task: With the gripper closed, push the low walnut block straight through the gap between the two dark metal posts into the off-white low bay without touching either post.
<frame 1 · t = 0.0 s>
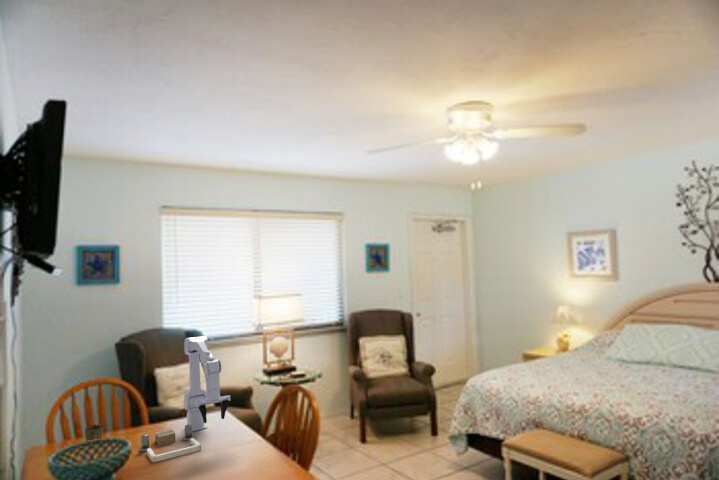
hand: (214, 420, 204), 10 cm above the table, tool pointing down, fingers open, 7 cm apart
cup: (94, 445, 211), on the table
post 1: (145, 449, 202), on the table
walnut block: (165, 442, 211), on the table
post 2: (188, 439, 212), on the table
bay: (173, 450, 199), on the table
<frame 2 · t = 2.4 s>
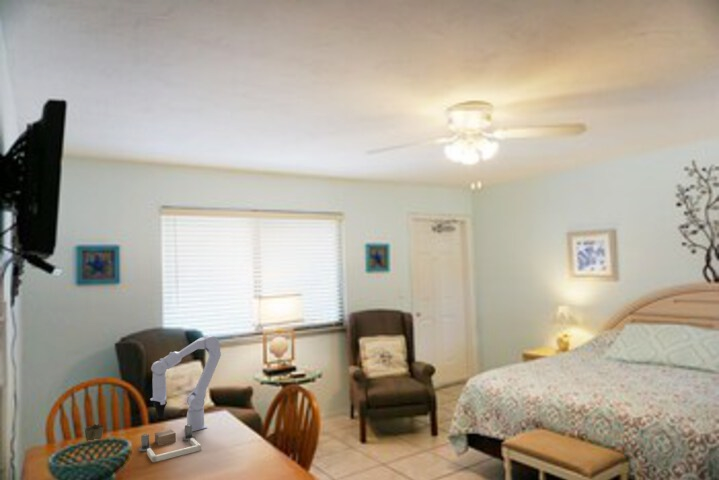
hand: (160, 417, 219), 8 cm above the table, tool pointing down, fingers closed
nothing on the table moved.
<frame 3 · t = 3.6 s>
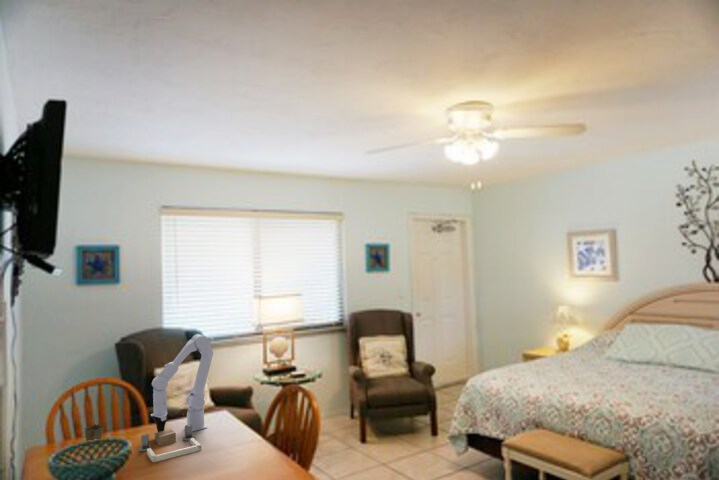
hand: (160, 433, 218), 1 cm above the table, tool pointing down, fingers closed
nothing on the table moved.
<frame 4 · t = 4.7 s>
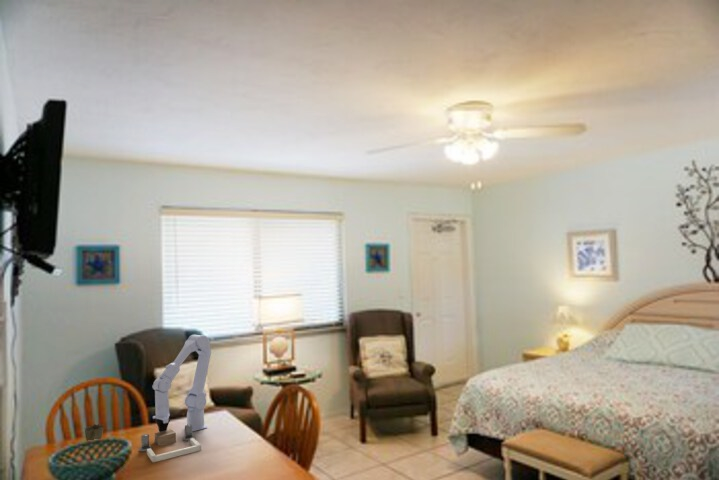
hand: (162, 435, 214), 1 cm above the table, tool pointing down, fingers closed
walnut block: (165, 442, 210), on the table, touching gripper
everything else where it was.
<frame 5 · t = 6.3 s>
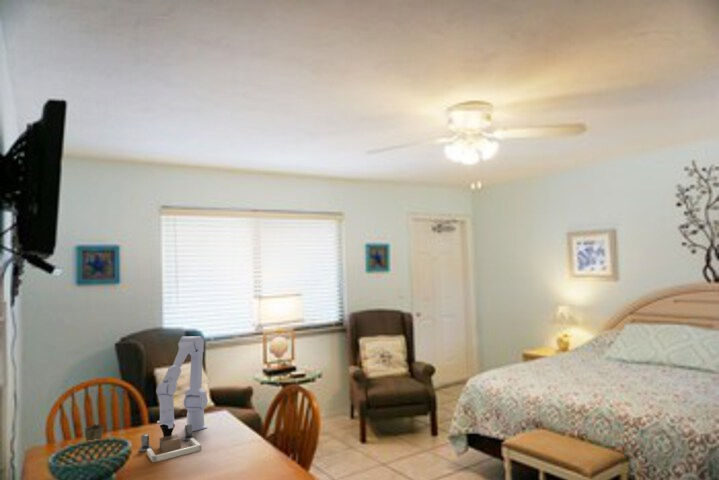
hand: (167, 441, 207), 1 cm above the table, tool pointing down, fingers closed
walnut block: (170, 447, 203), on the table, touching gripper
everything else where it was.
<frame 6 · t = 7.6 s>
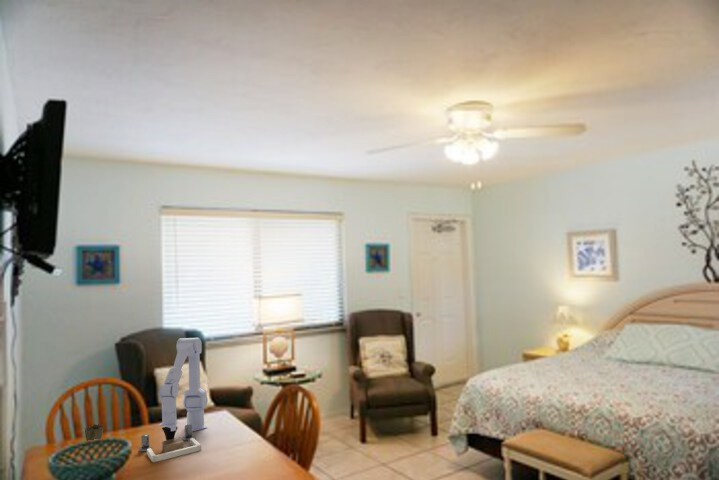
hand: (170, 444, 203), 1 cm above the table, tool pointing down, fingers closed
walnut block: (173, 451, 199), on the table
everything else where it was.
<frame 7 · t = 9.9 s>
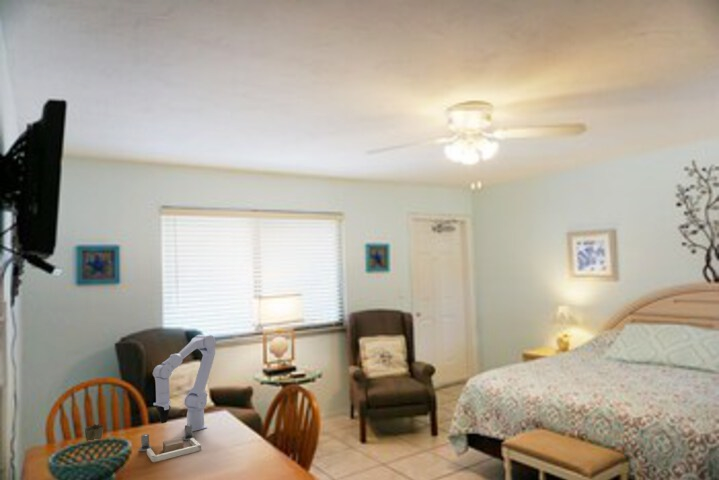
hand: (163, 422, 213), 8 cm above the table, tool pointing down, fingers closed
nothing on the table moved.
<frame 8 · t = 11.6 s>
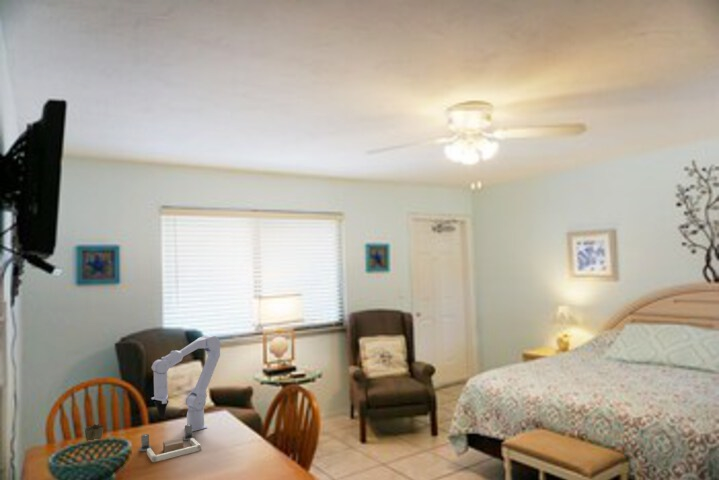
hand: (161, 416, 217), 9 cm above the table, tool pointing down, fingers closed
nothing on the table moved.
at the end: walnut block inside the target area (0.6 cm from its centre), on the table; post 2 moved 0.0 cm from its start; post 1 moved 0.0 cm from its start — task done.
